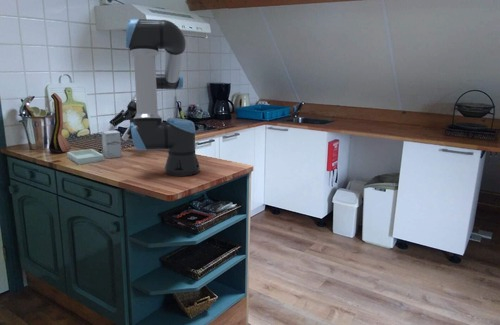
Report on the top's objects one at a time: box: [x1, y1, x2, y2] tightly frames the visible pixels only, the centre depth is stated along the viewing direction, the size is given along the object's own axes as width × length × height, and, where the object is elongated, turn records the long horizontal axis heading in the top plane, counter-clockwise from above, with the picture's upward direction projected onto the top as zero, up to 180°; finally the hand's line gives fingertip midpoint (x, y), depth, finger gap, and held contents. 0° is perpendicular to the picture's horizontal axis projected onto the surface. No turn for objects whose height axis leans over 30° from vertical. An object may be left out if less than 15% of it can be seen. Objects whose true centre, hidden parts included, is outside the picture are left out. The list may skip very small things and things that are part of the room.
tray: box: [66, 148, 105, 166], centre depth 190 cm, size 16×12×3 cm
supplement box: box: [101, 129, 123, 159], centre depth 195 cm, size 7×7×13 cm
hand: (114, 137), depth 197 cm, fingers open, 13 cm apart
